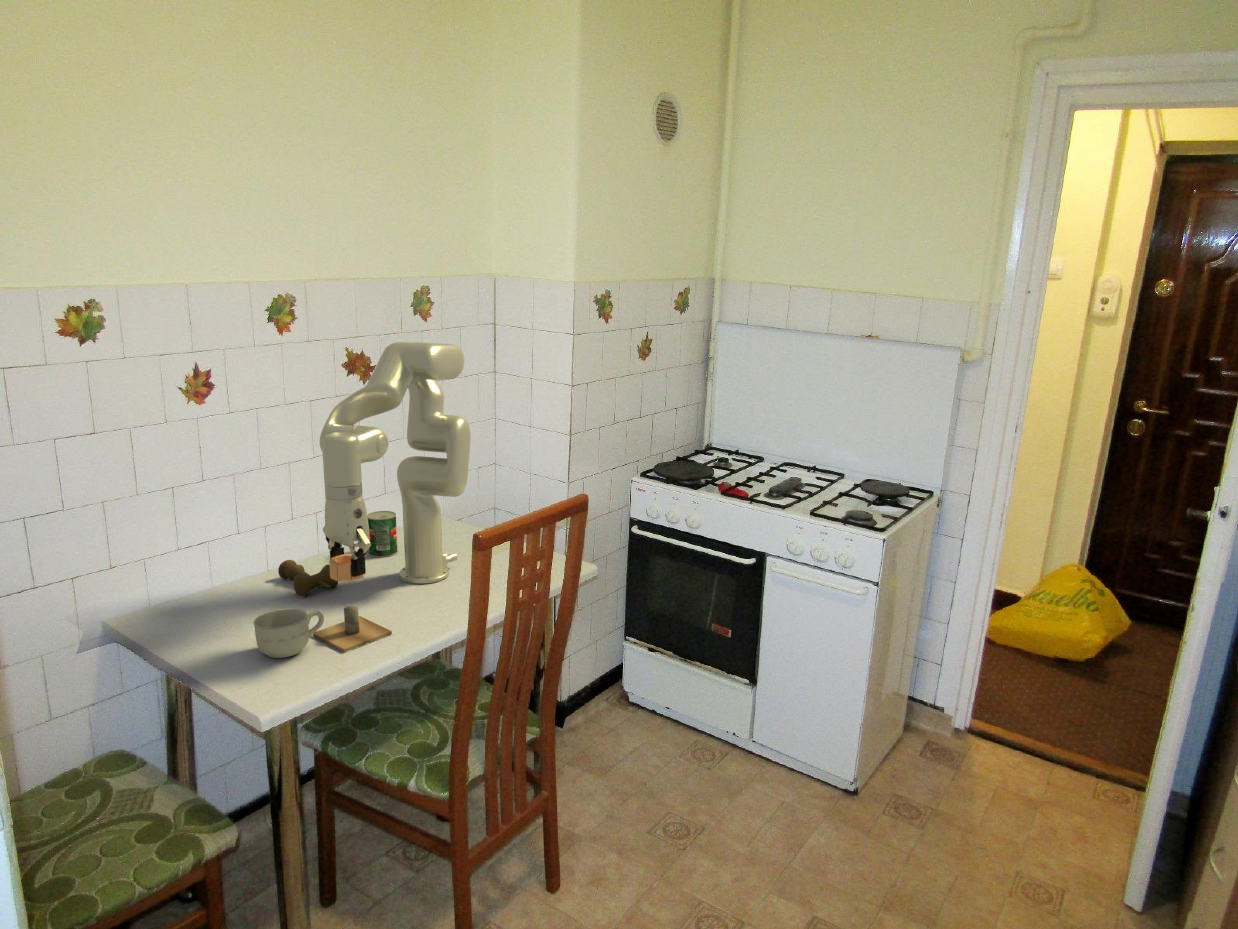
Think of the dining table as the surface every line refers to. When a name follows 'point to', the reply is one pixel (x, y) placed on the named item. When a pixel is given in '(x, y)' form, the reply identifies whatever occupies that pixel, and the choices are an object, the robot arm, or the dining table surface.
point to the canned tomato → (382, 533)
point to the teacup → (284, 631)
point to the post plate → (352, 640)
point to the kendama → (305, 577)
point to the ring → (342, 568)
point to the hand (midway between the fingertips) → (348, 570)
